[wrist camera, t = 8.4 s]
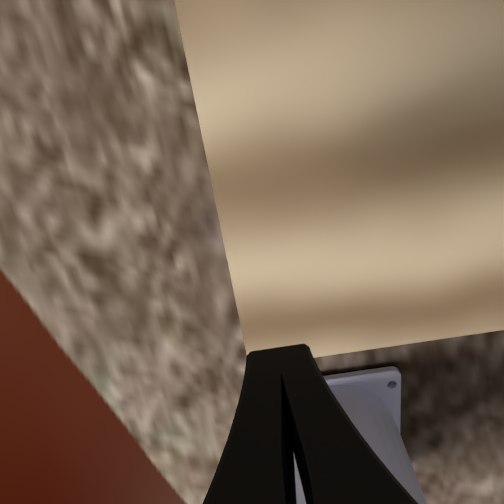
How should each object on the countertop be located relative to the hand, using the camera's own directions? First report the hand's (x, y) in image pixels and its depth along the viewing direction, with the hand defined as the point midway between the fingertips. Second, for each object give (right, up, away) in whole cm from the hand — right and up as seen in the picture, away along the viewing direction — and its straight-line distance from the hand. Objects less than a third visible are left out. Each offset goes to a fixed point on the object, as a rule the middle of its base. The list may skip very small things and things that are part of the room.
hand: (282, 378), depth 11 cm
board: (+4, +7, +8) cm, 12 cm away
